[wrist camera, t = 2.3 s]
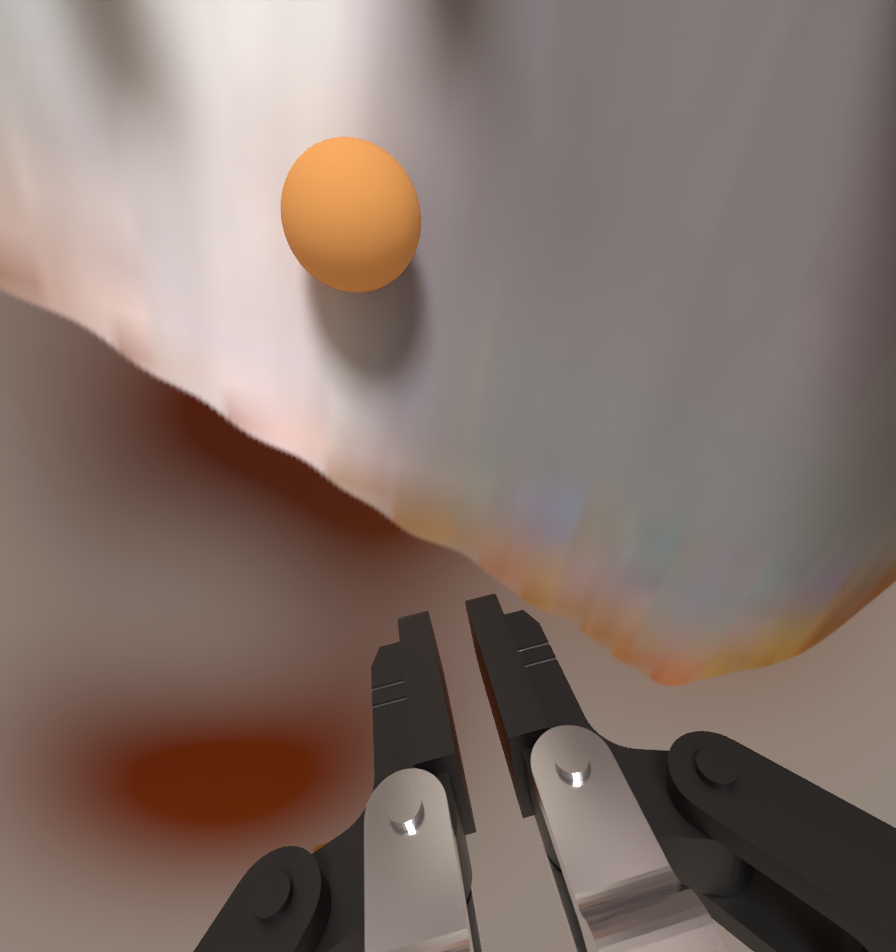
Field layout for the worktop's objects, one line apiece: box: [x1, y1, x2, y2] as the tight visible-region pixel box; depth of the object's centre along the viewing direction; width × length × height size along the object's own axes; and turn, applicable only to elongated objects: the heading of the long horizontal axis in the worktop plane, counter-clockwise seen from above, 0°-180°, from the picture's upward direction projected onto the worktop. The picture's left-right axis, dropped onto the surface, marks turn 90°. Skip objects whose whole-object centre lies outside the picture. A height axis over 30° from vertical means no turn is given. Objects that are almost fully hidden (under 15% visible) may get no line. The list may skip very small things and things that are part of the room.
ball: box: [281, 137, 421, 293], centre depth 20 cm, size 6×6×6 cm
